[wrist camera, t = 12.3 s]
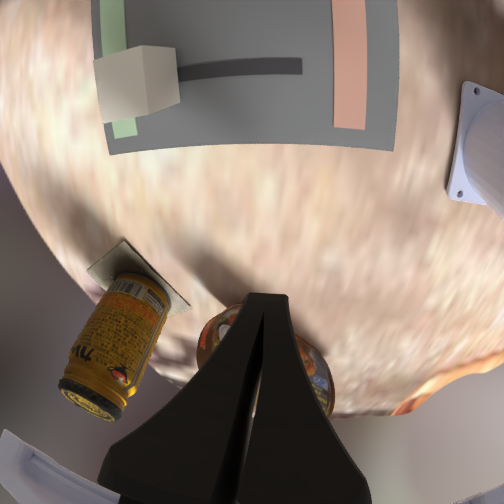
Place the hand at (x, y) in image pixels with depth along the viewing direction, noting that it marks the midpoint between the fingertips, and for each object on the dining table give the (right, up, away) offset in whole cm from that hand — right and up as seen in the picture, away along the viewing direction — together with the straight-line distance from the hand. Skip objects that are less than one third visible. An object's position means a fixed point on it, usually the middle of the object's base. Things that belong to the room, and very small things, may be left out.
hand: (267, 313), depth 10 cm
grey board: (-1, +16, 0) cm, 16 cm away
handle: (-5, +11, +2) cm, 12 cm away
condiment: (-11, -1, +15) cm, 19 cm away
